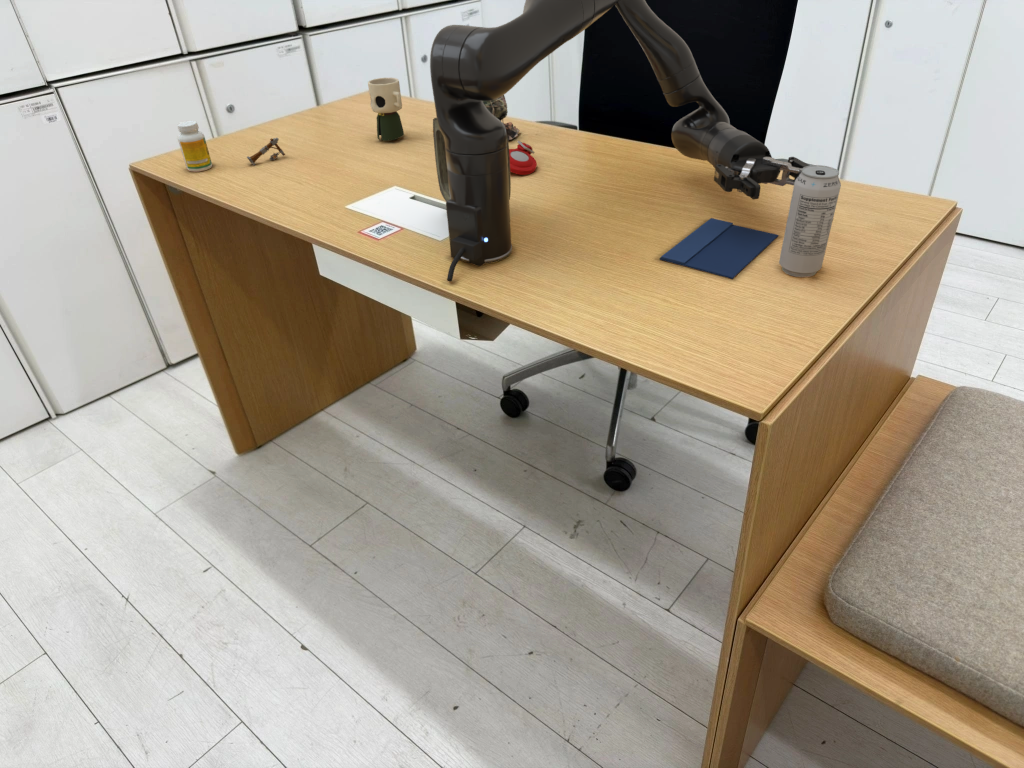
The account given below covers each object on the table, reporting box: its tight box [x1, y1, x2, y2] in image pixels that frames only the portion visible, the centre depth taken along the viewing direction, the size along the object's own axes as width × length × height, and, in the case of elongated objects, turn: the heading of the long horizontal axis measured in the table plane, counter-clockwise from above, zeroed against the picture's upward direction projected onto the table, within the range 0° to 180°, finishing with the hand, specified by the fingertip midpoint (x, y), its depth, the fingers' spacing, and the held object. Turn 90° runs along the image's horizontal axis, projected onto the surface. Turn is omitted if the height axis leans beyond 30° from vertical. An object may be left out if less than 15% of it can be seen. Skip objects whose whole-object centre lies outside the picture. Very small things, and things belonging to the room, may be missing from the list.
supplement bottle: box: [177, 120, 213, 173], centre depth 153 cm, size 5×5×10 cm
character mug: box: [367, 77, 405, 142], centre depth 164 cm, size 11×7×13 cm, turn 47°
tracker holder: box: [509, 140, 538, 176], centre depth 148 cm, size 12×4×10 cm
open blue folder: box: [659, 217, 779, 280], centre depth 113 cm, size 18×12×1 cm, turn 142°
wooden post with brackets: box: [246, 137, 286, 166], centre depth 158 cm, size 2×8×4 cm, turn 126°
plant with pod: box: [483, 94, 521, 142], centre depth 160 cm, size 8×11×20 cm
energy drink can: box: [778, 164, 842, 278], centre depth 102 cm, size 6×6×15 cm
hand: (784, 190), depth 107 cm, fingers open, 8 cm apart
